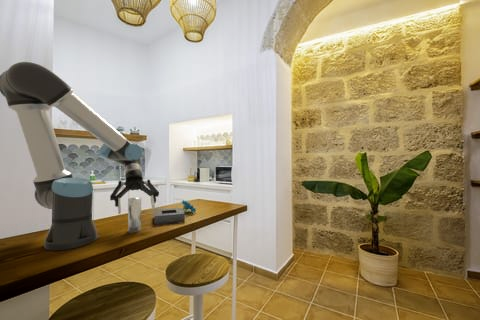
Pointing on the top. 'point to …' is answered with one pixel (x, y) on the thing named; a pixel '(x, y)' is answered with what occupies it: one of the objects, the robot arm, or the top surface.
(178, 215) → the block
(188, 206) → the teal irregular piece
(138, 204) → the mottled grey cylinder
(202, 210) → the top surface
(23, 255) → the top surface
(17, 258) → the top surface
